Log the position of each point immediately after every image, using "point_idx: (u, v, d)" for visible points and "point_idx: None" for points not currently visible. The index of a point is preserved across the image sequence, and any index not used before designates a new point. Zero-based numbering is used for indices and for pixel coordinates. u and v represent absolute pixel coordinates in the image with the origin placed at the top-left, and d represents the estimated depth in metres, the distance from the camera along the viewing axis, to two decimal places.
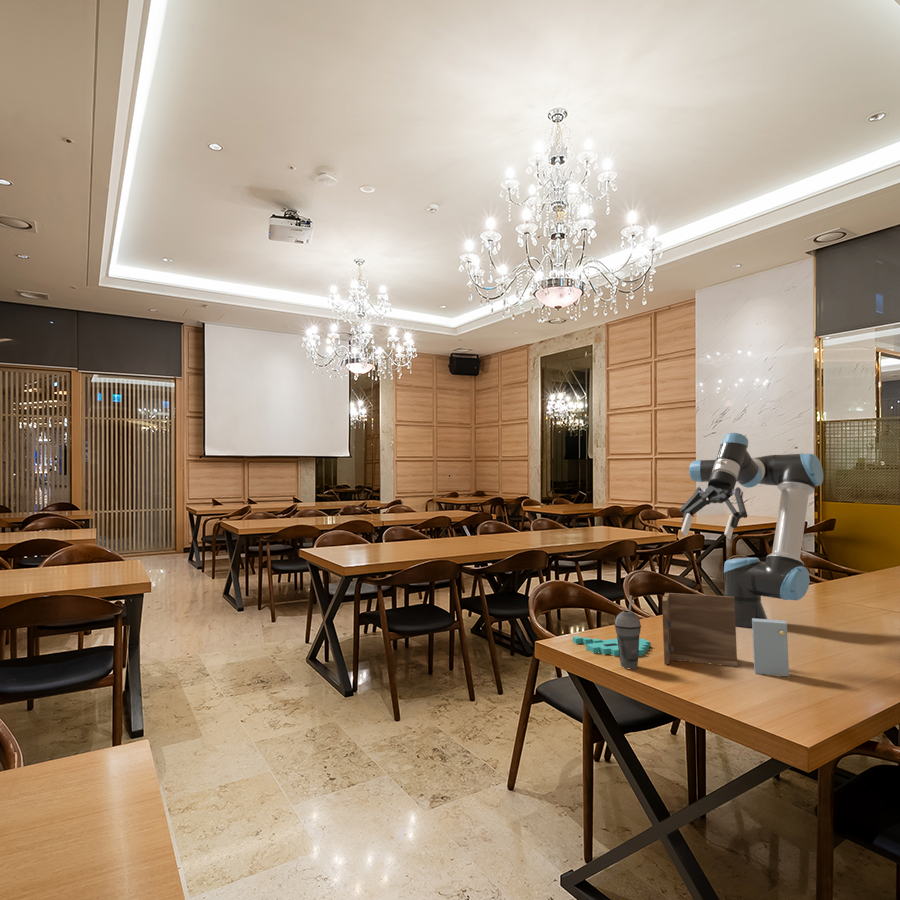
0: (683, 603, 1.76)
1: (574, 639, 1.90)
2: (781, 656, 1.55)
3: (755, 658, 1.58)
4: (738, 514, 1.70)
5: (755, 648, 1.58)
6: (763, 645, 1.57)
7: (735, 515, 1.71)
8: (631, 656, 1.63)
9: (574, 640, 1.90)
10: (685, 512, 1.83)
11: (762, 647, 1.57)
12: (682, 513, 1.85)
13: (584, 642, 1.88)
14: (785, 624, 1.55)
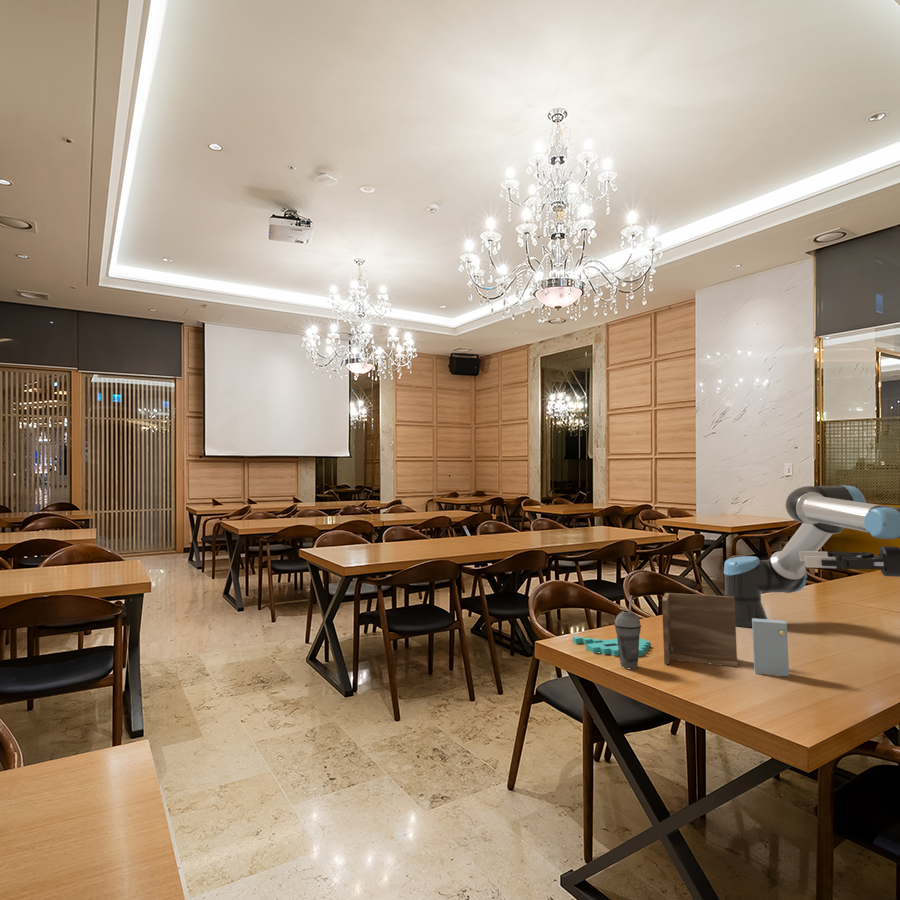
0: (683, 603, 1.76)
1: (574, 639, 1.90)
2: (781, 656, 1.55)
3: (755, 658, 1.58)
4: None
5: (755, 648, 1.58)
6: (763, 645, 1.57)
7: None
8: (631, 656, 1.63)
9: (574, 640, 1.90)
10: None
11: (762, 647, 1.57)
12: (841, 563, 1.44)
13: (584, 642, 1.88)
14: (785, 624, 1.55)
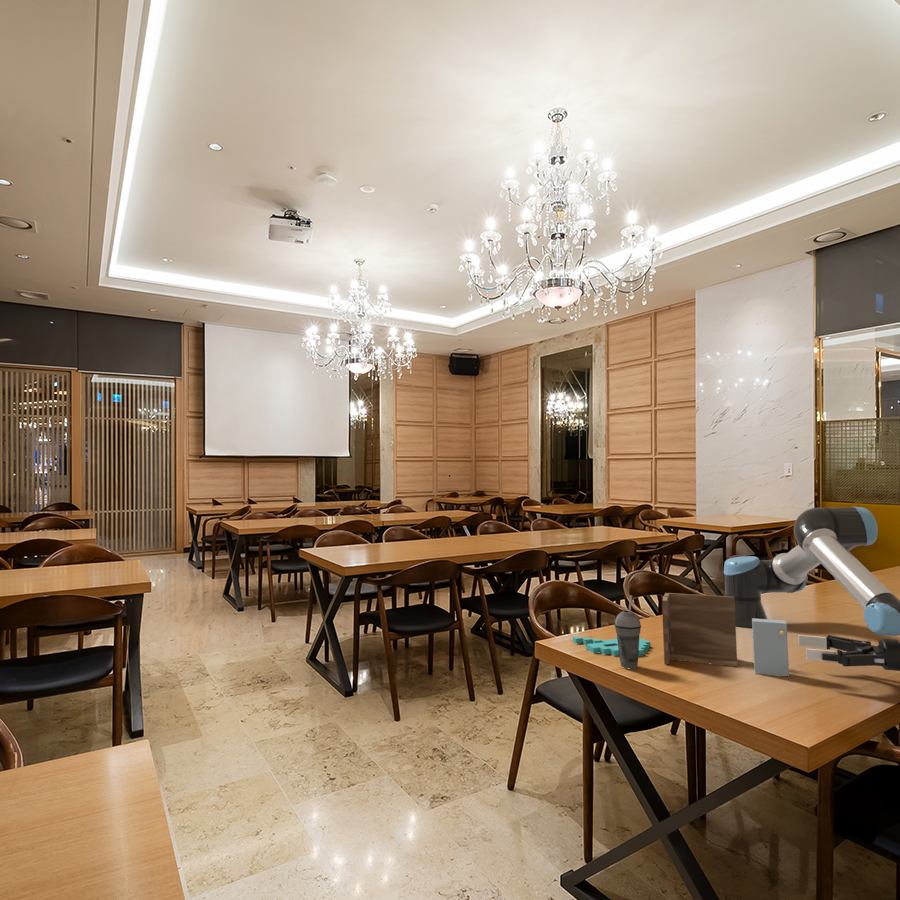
0: (683, 603, 1.76)
1: (574, 639, 1.90)
2: (781, 656, 1.55)
3: (755, 658, 1.58)
4: None
5: (755, 648, 1.58)
6: (763, 645, 1.57)
7: None
8: (631, 656, 1.63)
9: (574, 640, 1.90)
10: (839, 663, 1.45)
11: (762, 647, 1.57)
12: (842, 659, 1.43)
13: (584, 642, 1.88)
14: (785, 624, 1.55)
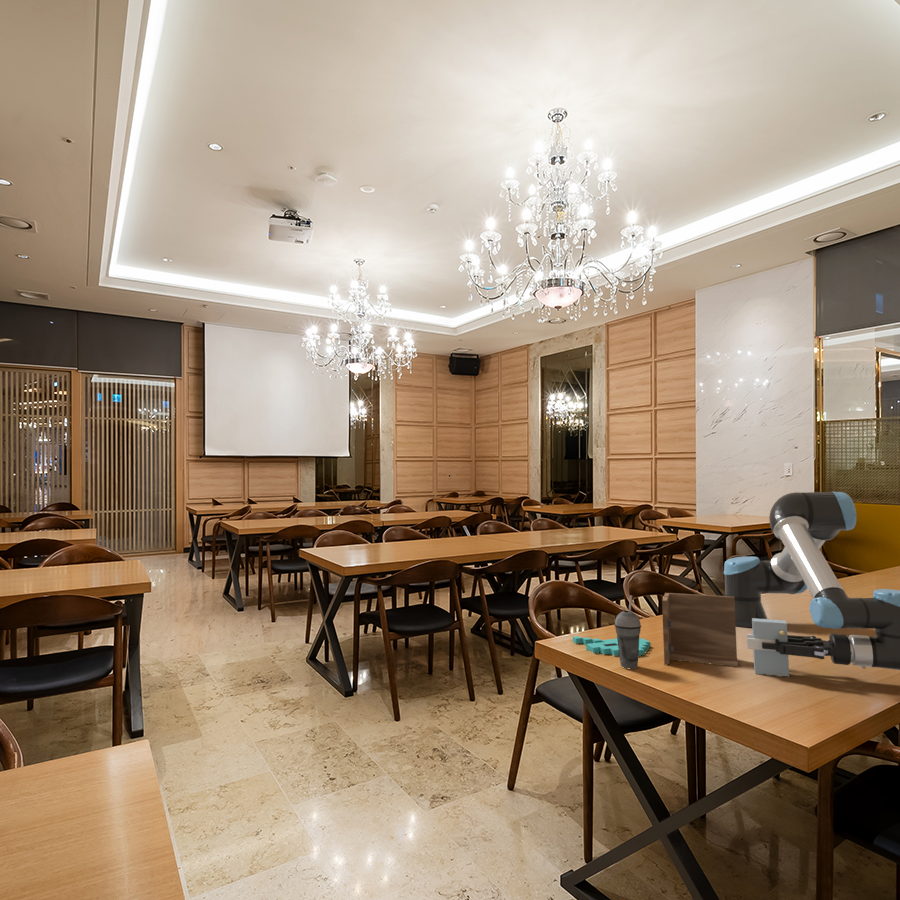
0: (683, 603, 1.76)
1: (574, 639, 1.90)
2: (781, 656, 1.55)
3: (755, 658, 1.58)
4: None
5: None
6: None
7: None
8: (631, 656, 1.63)
9: (574, 640, 1.90)
10: None
11: None
12: (779, 648, 1.53)
13: (584, 642, 1.88)
14: (785, 624, 1.55)
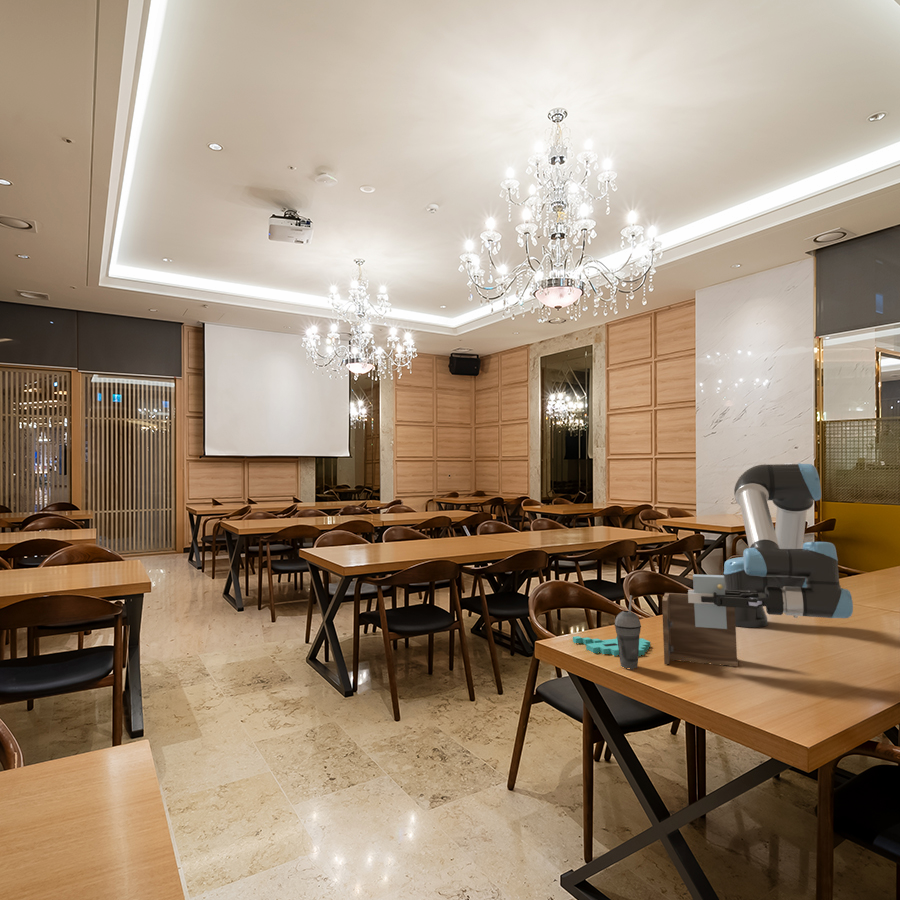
0: (683, 603, 1.76)
1: (574, 639, 1.90)
2: (719, 609, 1.61)
3: (695, 612, 1.64)
4: None
5: None
6: None
7: None
8: (631, 656, 1.63)
9: (574, 640, 1.90)
10: (715, 604, 1.61)
11: None
12: (716, 600, 1.59)
13: (584, 642, 1.88)
14: (723, 578, 1.61)
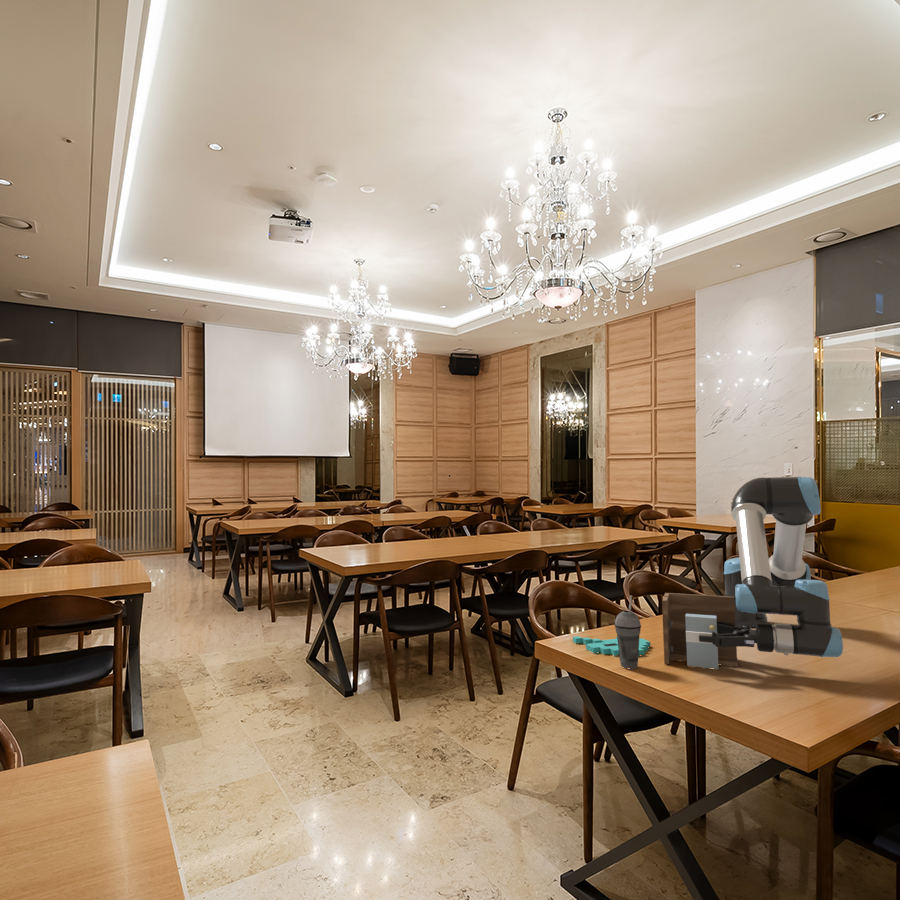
0: (683, 603, 1.76)
1: (574, 639, 1.90)
2: (711, 650, 1.62)
3: (687, 652, 1.65)
4: None
5: (687, 642, 1.65)
6: None
7: None
8: (631, 656, 1.63)
9: (574, 640, 1.90)
10: None
11: None
12: (715, 640, 1.55)
13: (584, 642, 1.88)
14: (715, 619, 1.62)
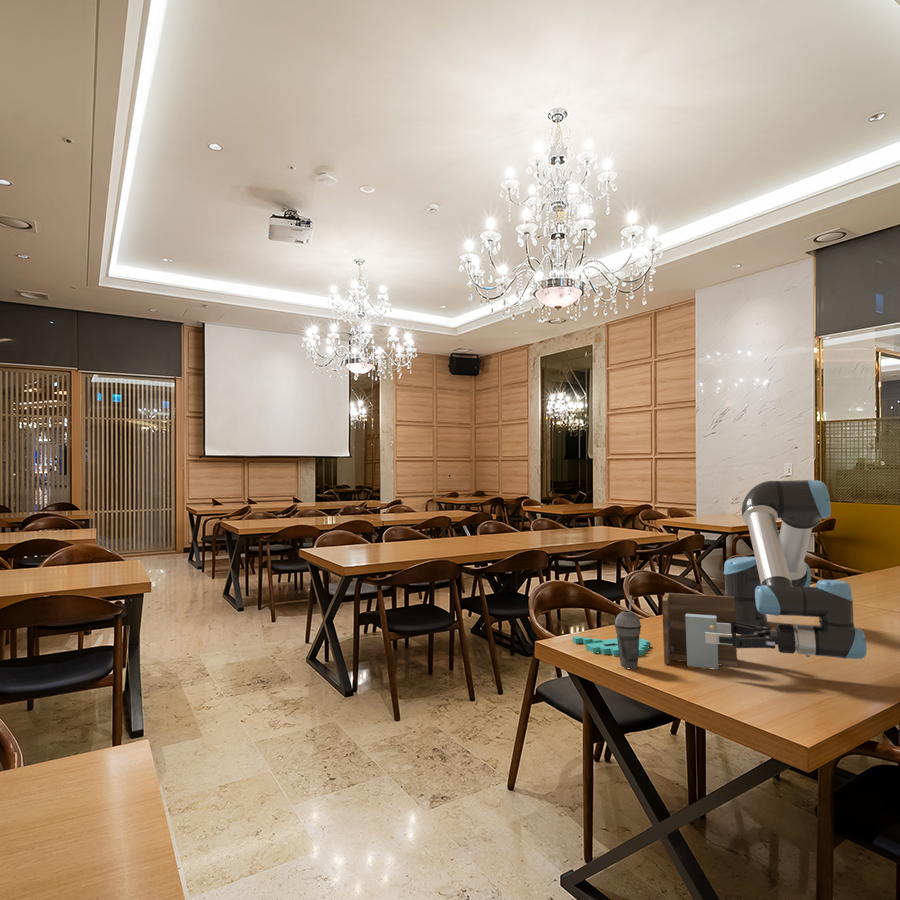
0: (683, 603, 1.76)
1: (574, 639, 1.90)
2: (711, 650, 1.62)
3: (687, 652, 1.65)
4: None
5: (687, 642, 1.65)
6: (694, 639, 1.64)
7: None
8: (631, 656, 1.63)
9: (574, 640, 1.90)
10: (733, 645, 1.55)
11: (694, 641, 1.64)
12: (735, 642, 1.53)
13: (584, 642, 1.88)
14: (715, 619, 1.62)
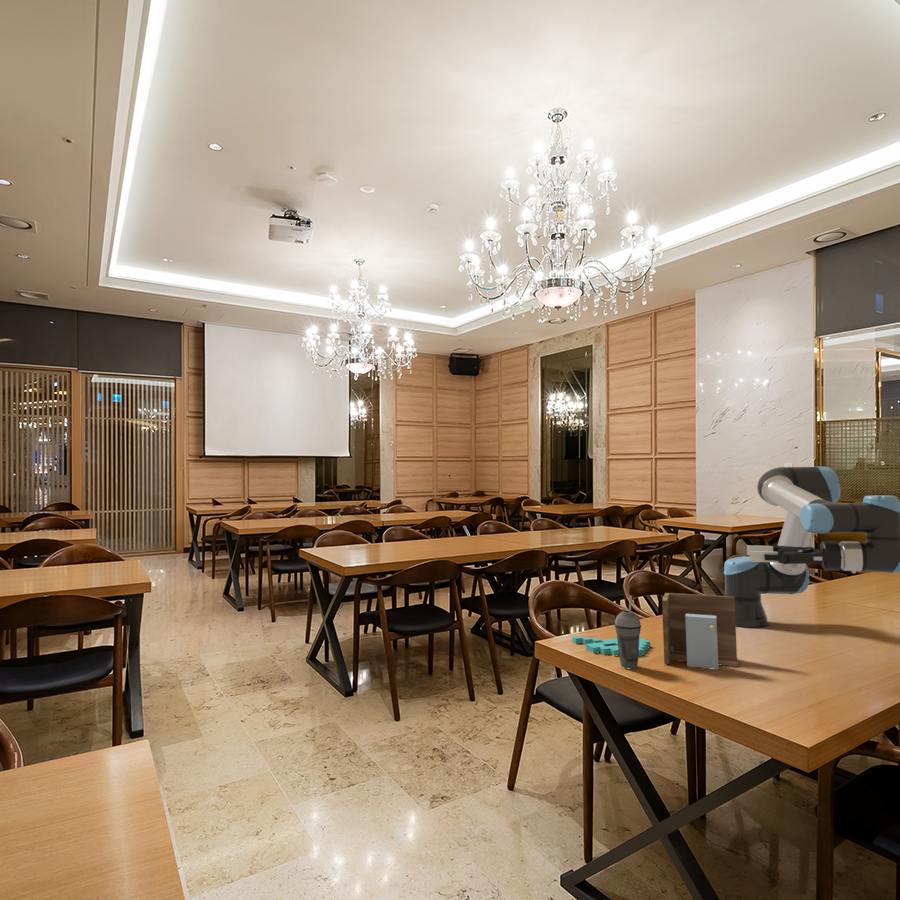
0: (683, 603, 1.76)
1: (574, 639, 1.90)
2: (711, 650, 1.62)
3: (687, 652, 1.65)
4: None
5: (687, 642, 1.65)
6: (694, 639, 1.64)
7: None
8: (631, 656, 1.63)
9: (574, 640, 1.90)
10: None
11: (694, 641, 1.64)
12: (782, 558, 1.49)
13: (584, 642, 1.88)
14: (715, 619, 1.62)
